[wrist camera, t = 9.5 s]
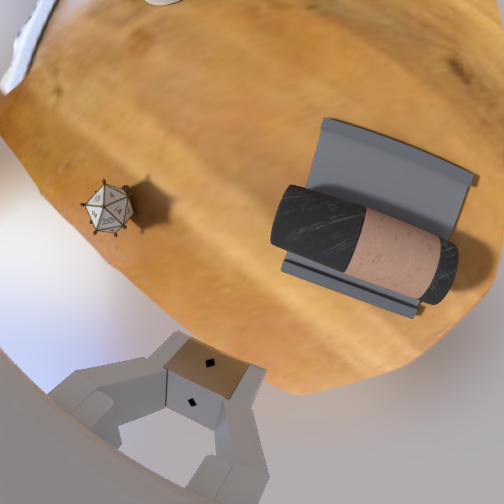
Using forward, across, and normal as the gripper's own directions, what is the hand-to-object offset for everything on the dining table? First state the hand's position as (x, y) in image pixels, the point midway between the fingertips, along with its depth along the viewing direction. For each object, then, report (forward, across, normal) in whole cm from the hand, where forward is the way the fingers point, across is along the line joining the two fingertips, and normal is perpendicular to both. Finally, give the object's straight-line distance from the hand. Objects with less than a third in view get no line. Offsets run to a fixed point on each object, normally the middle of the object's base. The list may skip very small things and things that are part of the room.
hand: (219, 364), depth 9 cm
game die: (+31, +30, +10) cm, 44 cm away
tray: (+31, -6, +1) cm, 31 cm away
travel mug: (+26, +4, +3) cm, 27 cm away
